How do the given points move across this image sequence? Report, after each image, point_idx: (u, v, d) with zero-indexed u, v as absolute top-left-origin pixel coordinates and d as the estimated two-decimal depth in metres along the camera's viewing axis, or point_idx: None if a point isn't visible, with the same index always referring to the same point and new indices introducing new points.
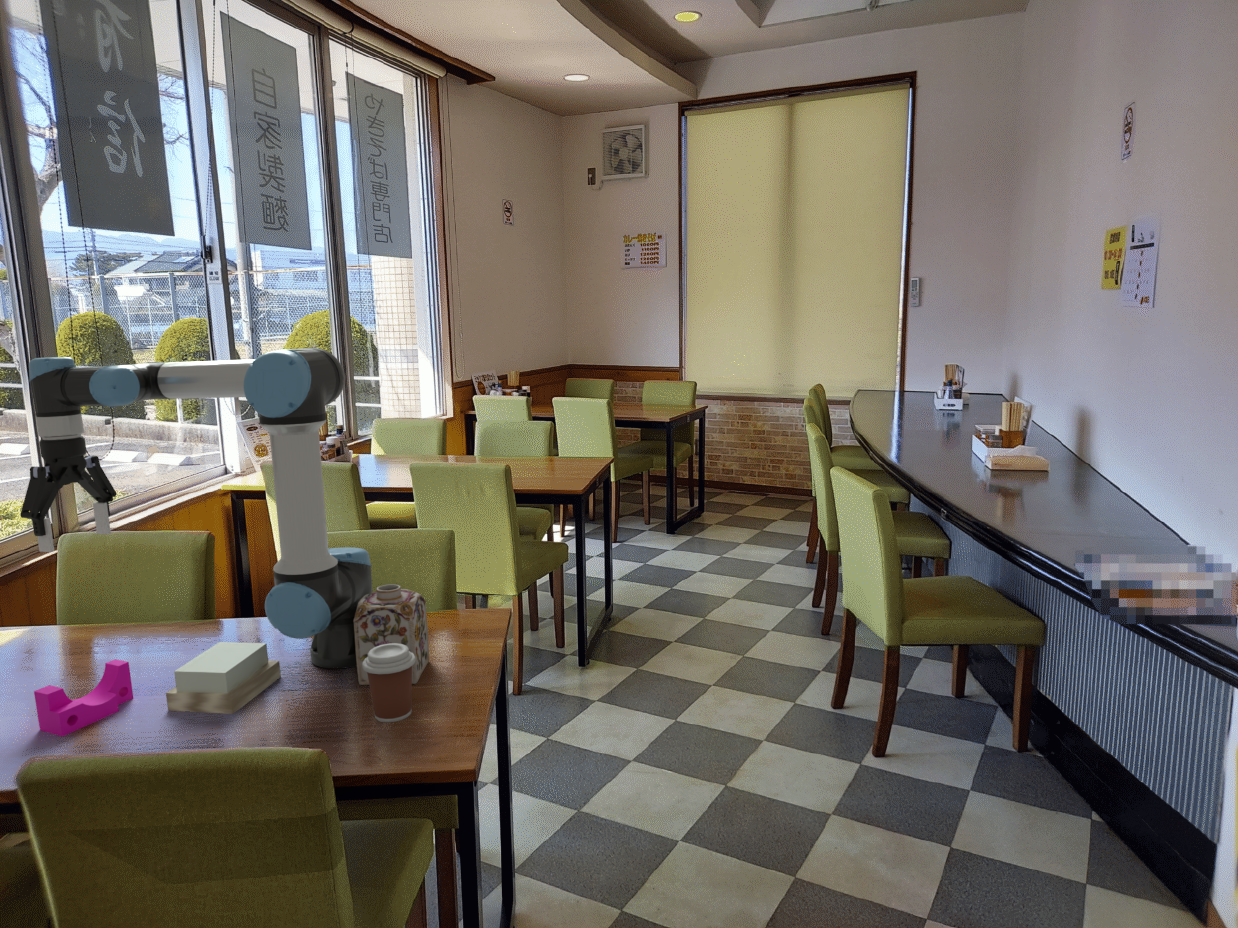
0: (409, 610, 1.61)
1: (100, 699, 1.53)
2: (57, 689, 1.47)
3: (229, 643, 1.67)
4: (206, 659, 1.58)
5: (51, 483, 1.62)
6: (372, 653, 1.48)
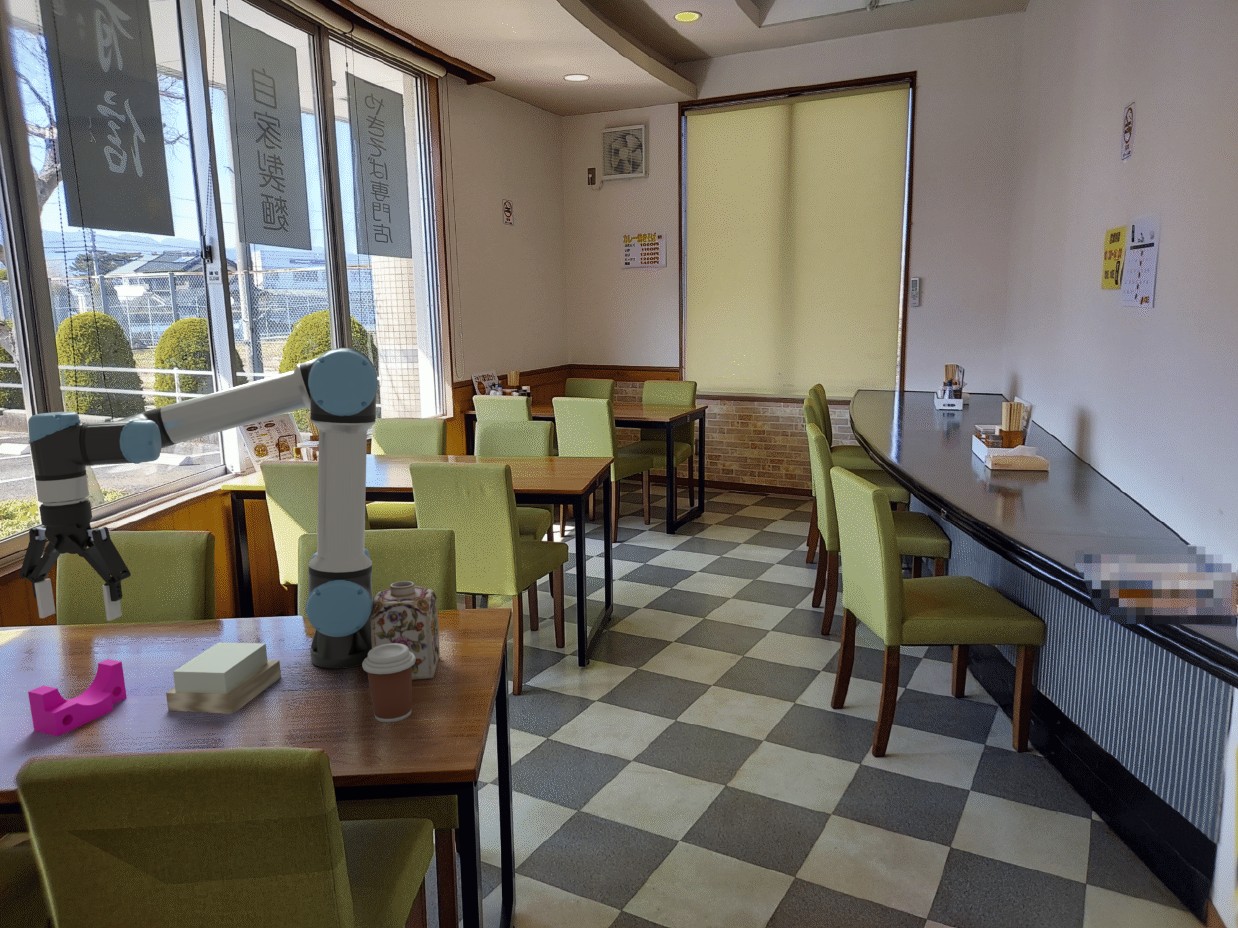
0: (425, 605, 1.64)
1: (94, 699, 1.54)
2: (52, 689, 1.47)
3: (229, 643, 1.66)
4: (205, 660, 1.58)
5: None
6: (372, 653, 1.48)
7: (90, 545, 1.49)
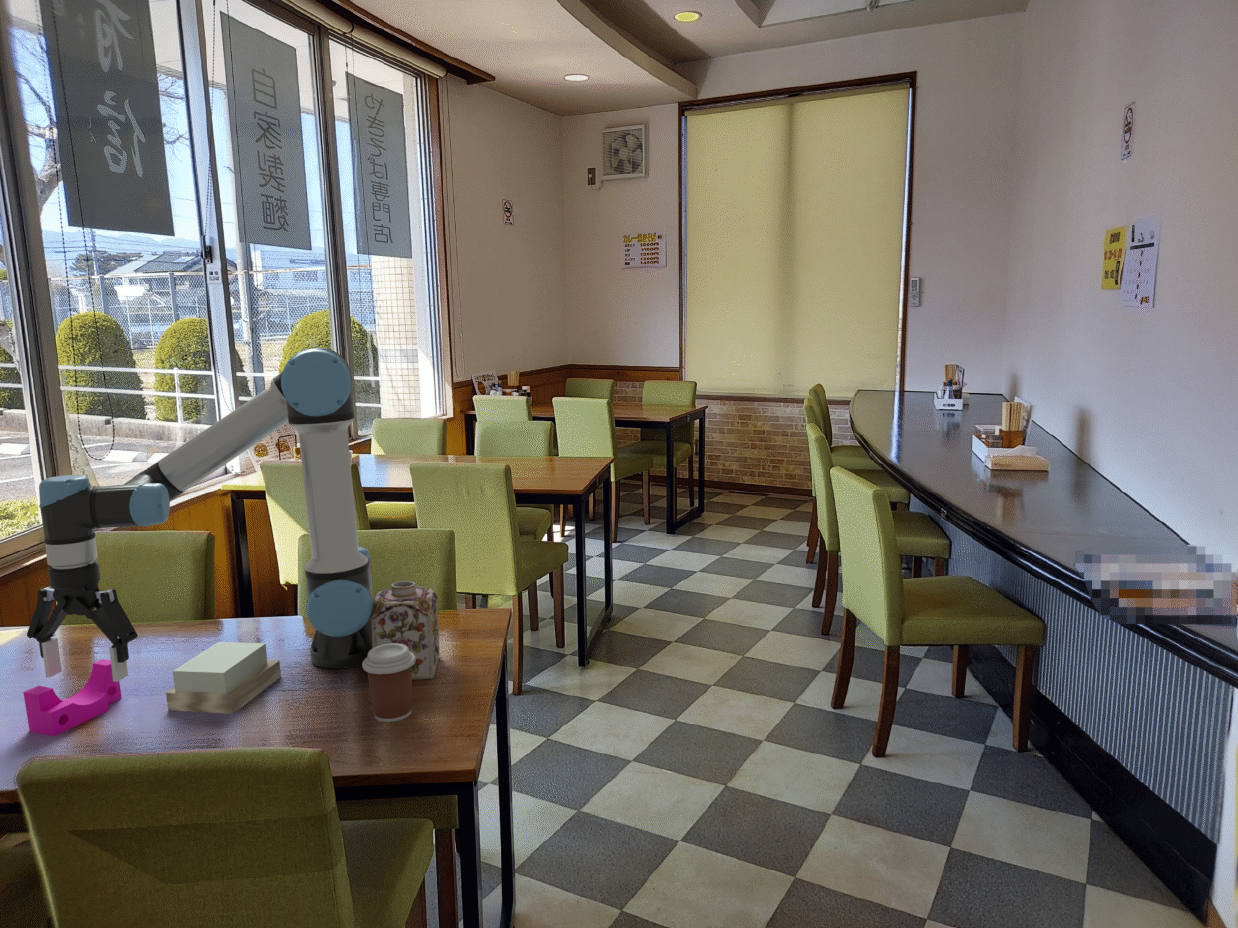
0: (427, 606, 1.64)
1: (89, 699, 1.54)
2: (47, 689, 1.47)
3: (229, 642, 1.66)
4: (205, 659, 1.58)
5: None
6: (372, 653, 1.48)
7: (98, 606, 1.51)
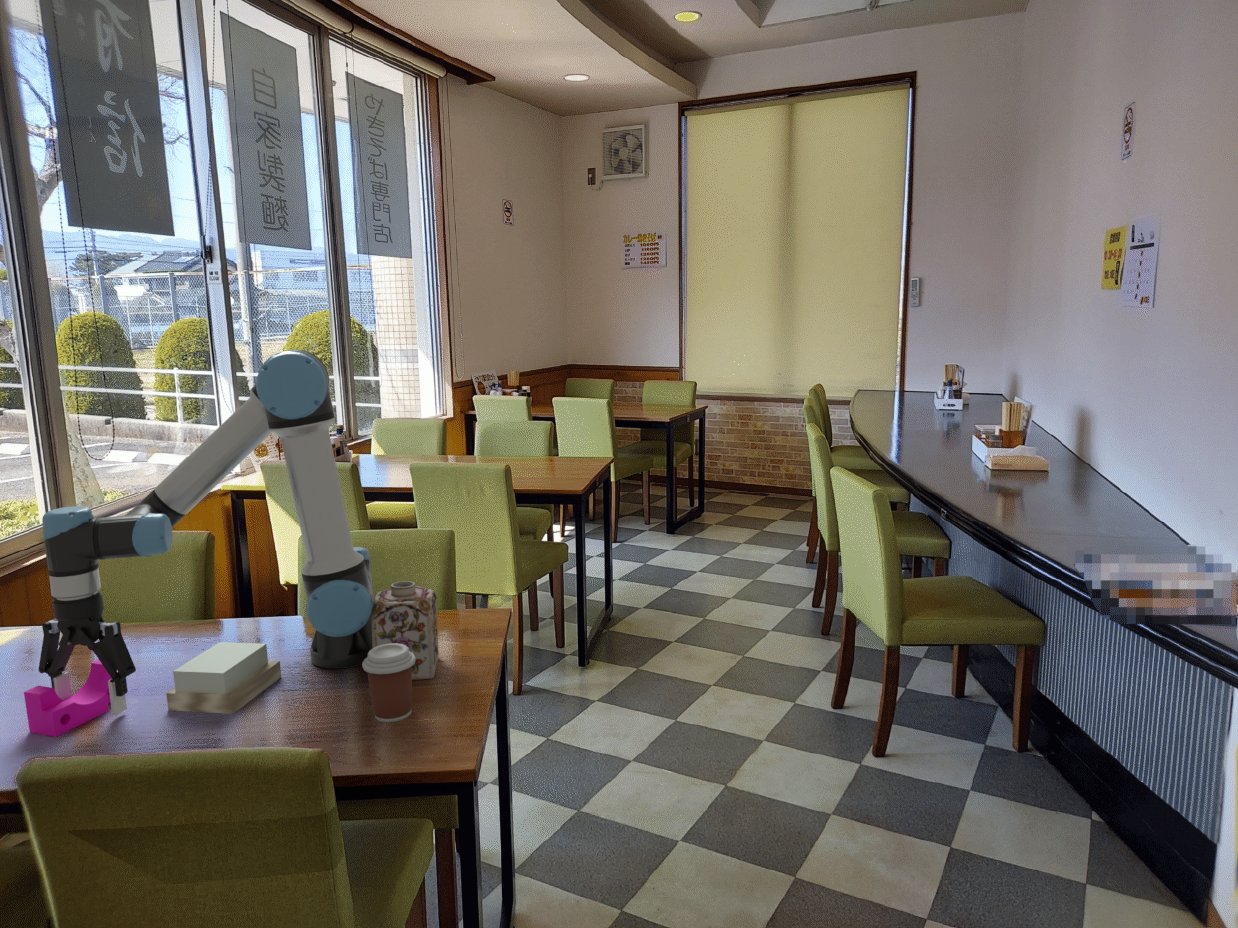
0: (427, 606, 1.63)
1: (89, 698, 1.53)
2: (48, 689, 1.47)
3: (230, 643, 1.67)
4: (205, 659, 1.59)
5: None
6: (372, 653, 1.48)
7: (100, 637, 1.52)
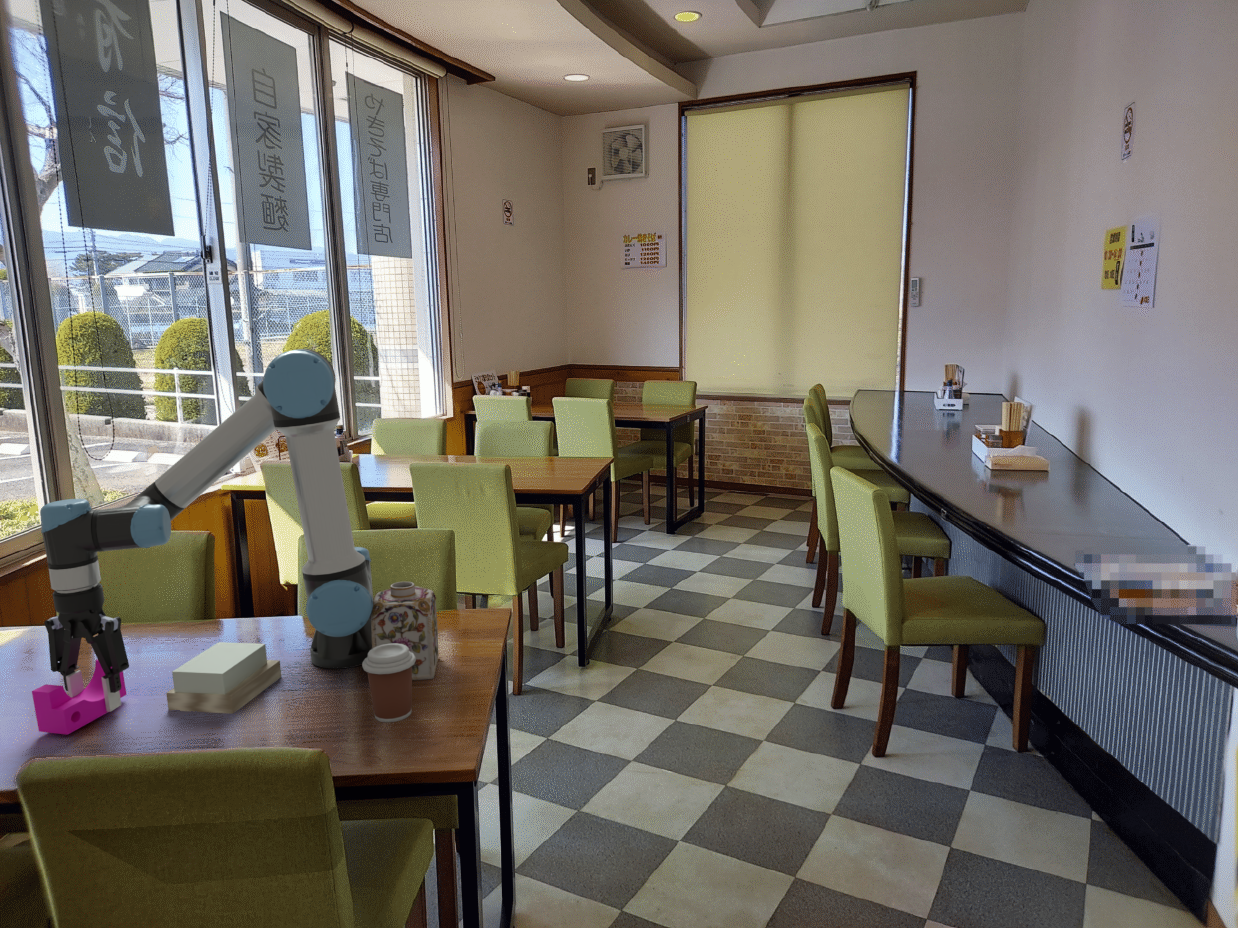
0: (426, 606, 1.63)
1: (97, 695, 1.52)
2: (57, 687, 1.46)
3: (229, 643, 1.66)
4: (205, 660, 1.58)
5: None
6: (372, 653, 1.48)
7: (99, 630, 1.52)
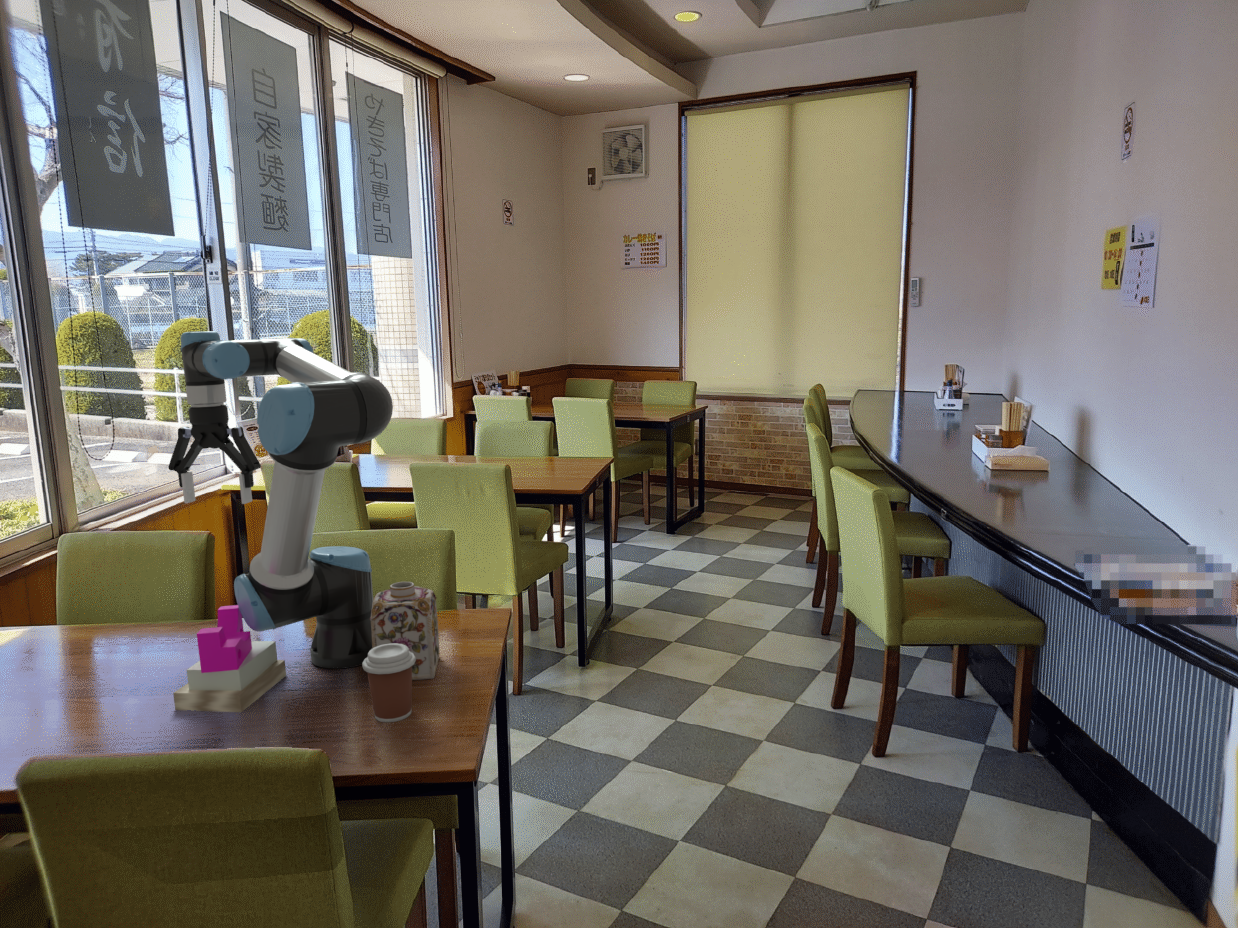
0: (426, 606, 1.64)
1: (237, 638, 1.61)
2: (219, 628, 1.54)
3: None
4: None
5: None
6: (372, 653, 1.48)
7: (227, 442, 1.81)
